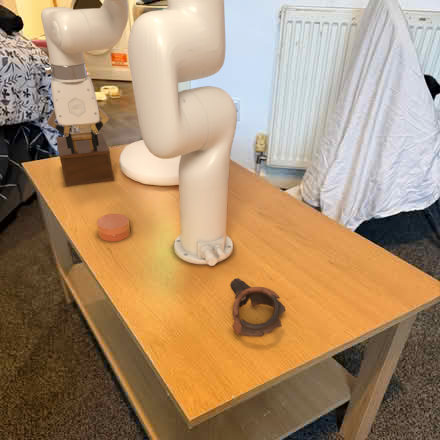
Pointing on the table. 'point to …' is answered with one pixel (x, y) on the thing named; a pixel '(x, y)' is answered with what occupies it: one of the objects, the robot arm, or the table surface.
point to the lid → (82, 145)
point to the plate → (148, 166)
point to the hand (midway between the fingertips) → (83, 148)
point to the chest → (87, 169)
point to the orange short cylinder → (113, 227)
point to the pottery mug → (257, 297)
